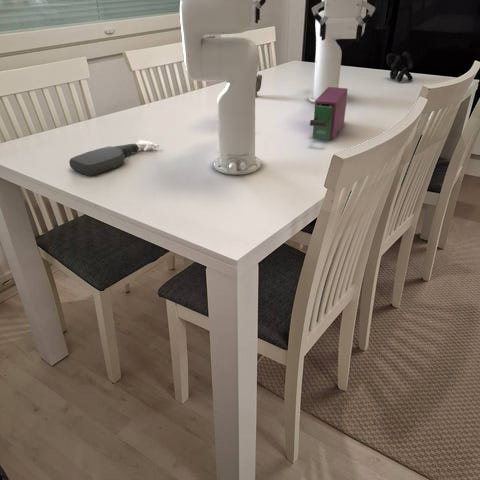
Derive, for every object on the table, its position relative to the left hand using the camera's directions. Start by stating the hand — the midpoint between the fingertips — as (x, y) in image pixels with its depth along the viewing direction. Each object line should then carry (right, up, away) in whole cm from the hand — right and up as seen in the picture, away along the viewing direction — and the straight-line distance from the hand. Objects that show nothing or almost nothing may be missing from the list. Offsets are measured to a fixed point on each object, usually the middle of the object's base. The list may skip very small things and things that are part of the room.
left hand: (240, 23), depth 139 cm
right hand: (+29, -10, -11) cm, 32 cm away
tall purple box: (+28, -32, +4) cm, 43 cm away
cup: (+5, -9, +42) cm, 43 cm away
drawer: (+26, -34, -1) cm, 43 cm away
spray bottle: (-35, -45, -14) cm, 59 cm away
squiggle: (+72, +4, +62) cm, 95 cm away
